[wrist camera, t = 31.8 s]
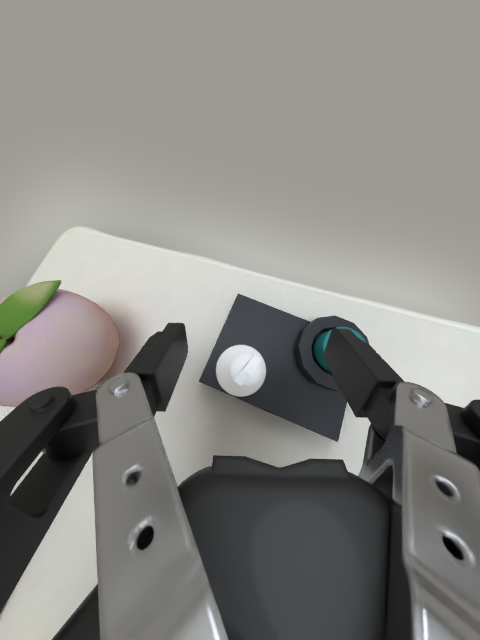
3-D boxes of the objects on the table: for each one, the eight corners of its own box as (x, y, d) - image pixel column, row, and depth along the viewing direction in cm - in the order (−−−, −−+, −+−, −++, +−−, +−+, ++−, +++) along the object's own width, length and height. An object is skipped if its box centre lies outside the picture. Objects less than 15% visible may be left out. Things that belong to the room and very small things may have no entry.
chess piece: (205, 373, 18) (172, 376, 8) (237, 335, 19) (241, 299, 9) (244, 407, 17) (258, 456, 8) (275, 366, 18) (321, 362, 9)
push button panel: (358, 337, 21) (378, 332, 18) (334, 438, 18) (353, 451, 15) (240, 291, 22) (242, 279, 19) (201, 380, 19) (195, 382, 16)
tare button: (358, 340, 18) (373, 336, 16) (349, 380, 17) (364, 381, 15) (319, 325, 18) (329, 320, 16) (308, 363, 17) (317, 362, 15)
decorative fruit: (122, 407, 18) (-4, 449, 9) (43, 389, 18) (-168, 411, 9) (153, 318, 21) (82, 272, 11) (83, 303, 21) (-47, 246, 11)
